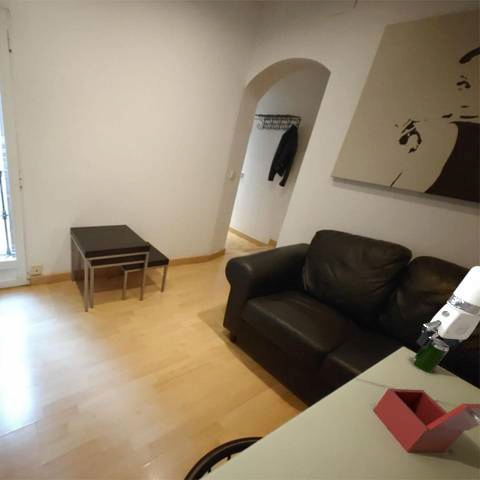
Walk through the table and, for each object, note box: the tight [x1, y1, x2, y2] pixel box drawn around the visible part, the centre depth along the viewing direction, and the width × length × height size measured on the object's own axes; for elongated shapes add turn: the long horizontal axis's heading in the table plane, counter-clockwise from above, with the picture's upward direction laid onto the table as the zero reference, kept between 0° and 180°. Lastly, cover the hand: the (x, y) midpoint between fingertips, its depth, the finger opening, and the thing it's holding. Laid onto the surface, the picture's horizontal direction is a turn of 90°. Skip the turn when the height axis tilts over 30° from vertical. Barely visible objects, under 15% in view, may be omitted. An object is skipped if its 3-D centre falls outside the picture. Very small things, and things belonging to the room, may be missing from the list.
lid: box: [427, 403, 480, 431], centre depth 56 cm, size 11×11×5 cm
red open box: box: [372, 388, 466, 453], centre depth 67 cm, size 10×11×9 cm
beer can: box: [411, 337, 449, 374], centre depth 88 cm, size 5×5×12 cm
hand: (433, 346), depth 87 cm, fingers open, 9 cm apart
